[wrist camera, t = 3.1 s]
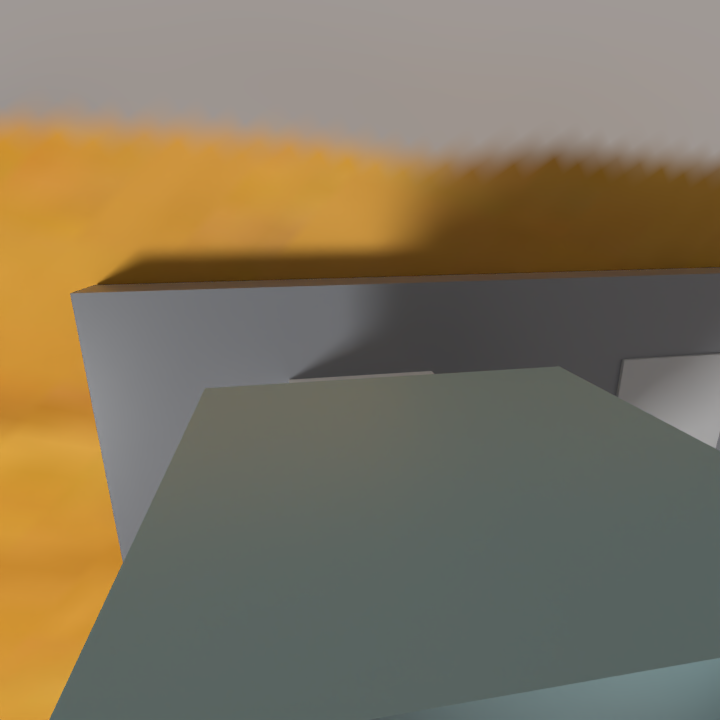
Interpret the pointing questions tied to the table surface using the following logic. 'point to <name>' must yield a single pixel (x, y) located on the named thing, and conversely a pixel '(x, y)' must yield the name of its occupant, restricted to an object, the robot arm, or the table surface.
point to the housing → (417, 560)
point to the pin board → (384, 347)
